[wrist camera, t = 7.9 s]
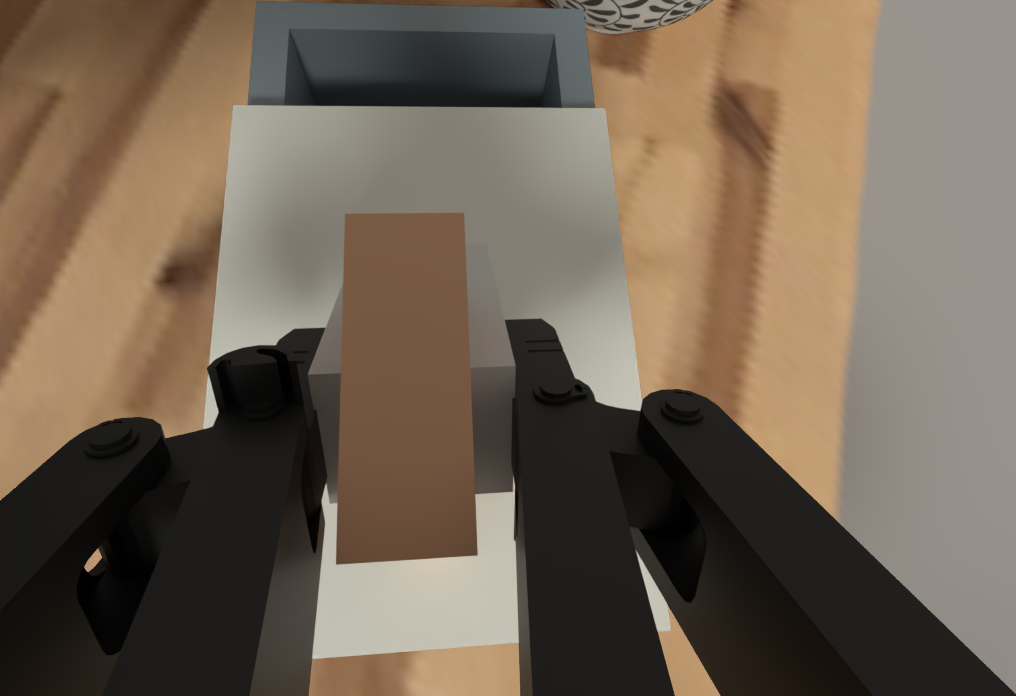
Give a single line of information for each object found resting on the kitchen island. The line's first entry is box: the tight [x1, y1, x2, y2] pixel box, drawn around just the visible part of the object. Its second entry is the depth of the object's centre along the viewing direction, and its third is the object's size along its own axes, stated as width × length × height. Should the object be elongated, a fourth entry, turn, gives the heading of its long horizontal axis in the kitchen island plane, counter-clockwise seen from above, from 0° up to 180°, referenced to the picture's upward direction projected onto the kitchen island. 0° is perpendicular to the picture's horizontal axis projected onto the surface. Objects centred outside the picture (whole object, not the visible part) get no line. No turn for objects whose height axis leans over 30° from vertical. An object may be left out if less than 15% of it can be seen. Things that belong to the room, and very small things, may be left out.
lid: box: [203, 105, 671, 659], centre depth 13 cm, size 16×12×9 cm
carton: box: [248, 1, 595, 108], centre depth 24 cm, size 16×12×10 cm
